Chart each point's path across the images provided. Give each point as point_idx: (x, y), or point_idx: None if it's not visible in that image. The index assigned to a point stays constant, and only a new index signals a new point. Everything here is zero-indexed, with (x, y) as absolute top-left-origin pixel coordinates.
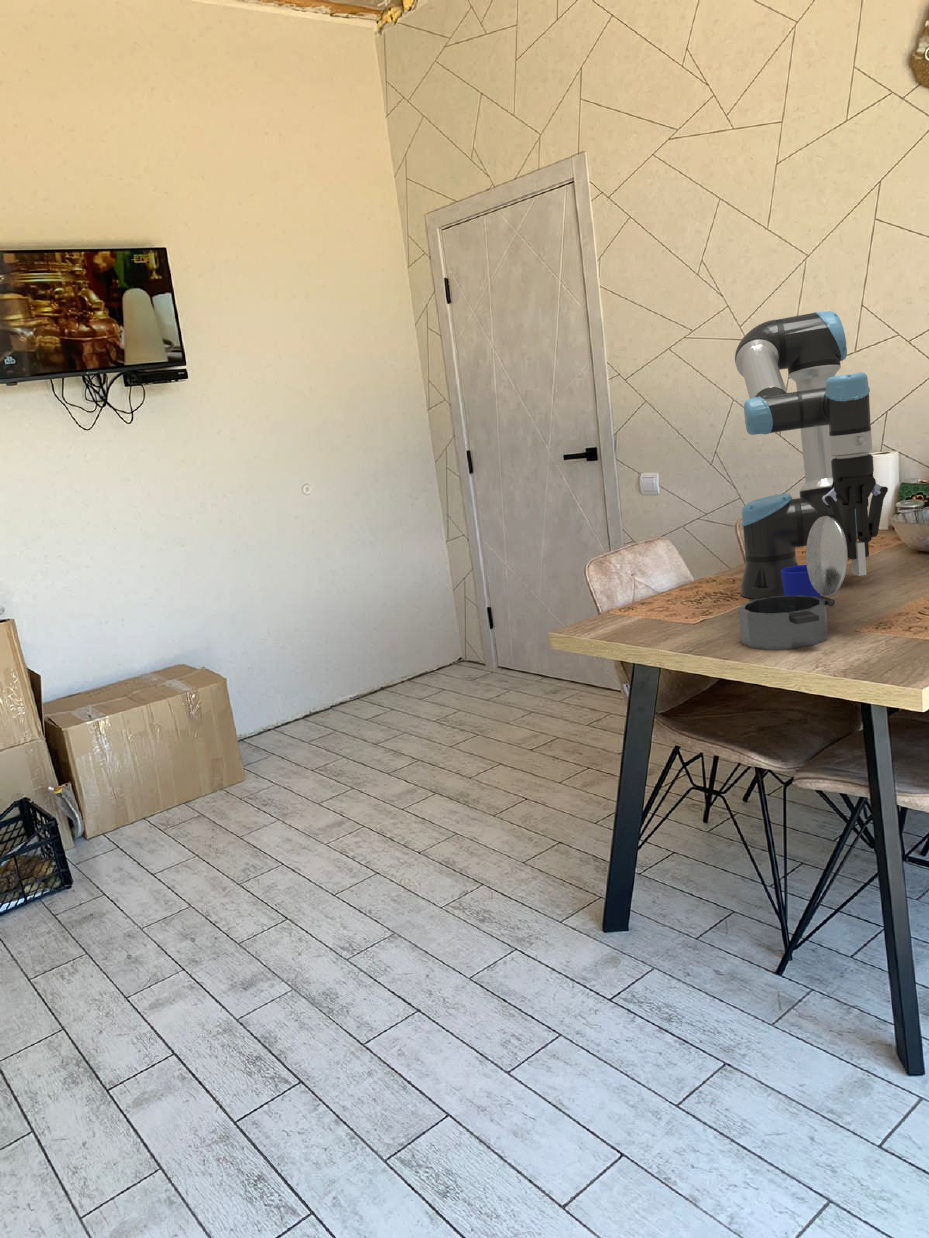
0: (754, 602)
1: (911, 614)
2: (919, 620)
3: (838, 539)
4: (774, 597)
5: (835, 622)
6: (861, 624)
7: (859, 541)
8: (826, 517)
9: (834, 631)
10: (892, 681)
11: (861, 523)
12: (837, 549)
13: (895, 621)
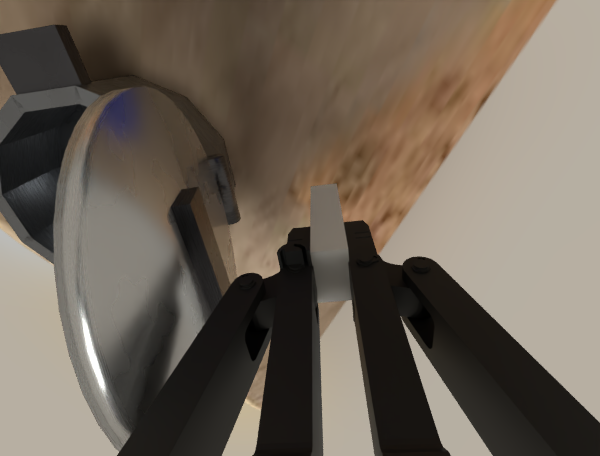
0: (16, 125)
1: (458, 111)
2: (434, 174)
3: None
4: (74, 103)
5: (278, 87)
6: (322, 142)
7: (347, 268)
8: (121, 444)
9: (253, 169)
10: (252, 393)
11: (362, 370)
12: None
13: (393, 156)
